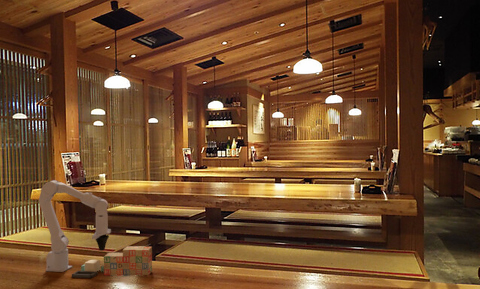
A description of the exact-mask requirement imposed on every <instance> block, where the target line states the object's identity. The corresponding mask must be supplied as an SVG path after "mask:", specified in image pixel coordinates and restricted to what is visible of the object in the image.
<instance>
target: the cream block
mask: <svg viewBox="0 0 480 289" xmlns="http://www.w3.org/2000/svg"><path fill="white" fill-rule="evenodd" d="M84 264H85V271H94V272H97V271H98V272H100V271H101V260H100V259H89V260H87V261H85V262H84ZM99 270H100V271H99ZM98 272H97V273H98Z"/></svg>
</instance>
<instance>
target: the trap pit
mask: <svg viewBox="0 0 480 289" xmlns="http://www.w3.org/2000/svg"><path fill="white" fill-rule="evenodd" d="M96 276H98V272H94V271H81V270H77V271H75V272H73V273H72V274H71V278H73V279H75V278H76V279H93V278H95V277H96Z"/></svg>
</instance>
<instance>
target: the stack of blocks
mask: <svg viewBox="0 0 480 289" xmlns="http://www.w3.org/2000/svg"><path fill="white" fill-rule="evenodd" d="M103 265H104V272H103V276H111V275H114V277H115V276H117V277H119V276H120V277H122V276H123V277H124V276H125V277H126V276H129V277H131V276H134V277H135V275H149V276H150V274H151V273H152V272H153V246H145V245H141V246H139V245H137V246H136V245H134V246H126V247H124V248H123V249H122V252H108V253H106V254H105V255H104V256H103ZM151 271H152V272H151Z"/></svg>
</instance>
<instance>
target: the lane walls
mask: <svg viewBox="0 0 480 289" xmlns="http://www.w3.org/2000/svg"><path fill="white" fill-rule="evenodd" d="M80 271H85V263H84V264H82V265H81V266H80ZM102 271H103V272H102ZM100 273H104V264H103V265H102V266H101V265H100Z"/></svg>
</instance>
